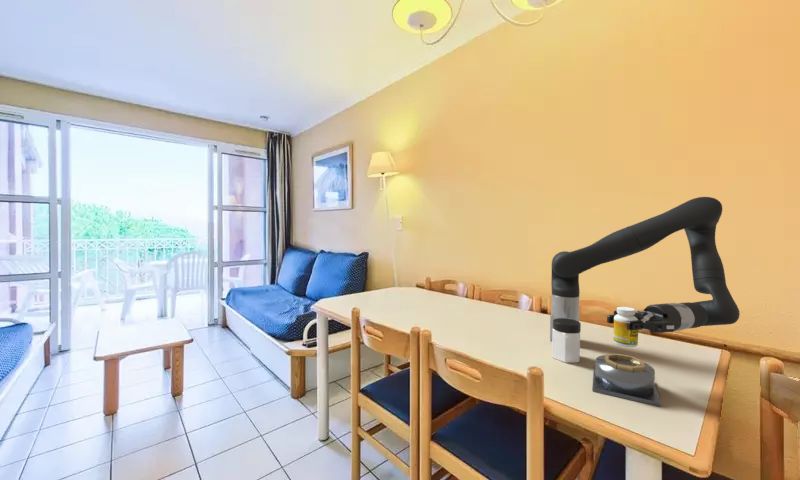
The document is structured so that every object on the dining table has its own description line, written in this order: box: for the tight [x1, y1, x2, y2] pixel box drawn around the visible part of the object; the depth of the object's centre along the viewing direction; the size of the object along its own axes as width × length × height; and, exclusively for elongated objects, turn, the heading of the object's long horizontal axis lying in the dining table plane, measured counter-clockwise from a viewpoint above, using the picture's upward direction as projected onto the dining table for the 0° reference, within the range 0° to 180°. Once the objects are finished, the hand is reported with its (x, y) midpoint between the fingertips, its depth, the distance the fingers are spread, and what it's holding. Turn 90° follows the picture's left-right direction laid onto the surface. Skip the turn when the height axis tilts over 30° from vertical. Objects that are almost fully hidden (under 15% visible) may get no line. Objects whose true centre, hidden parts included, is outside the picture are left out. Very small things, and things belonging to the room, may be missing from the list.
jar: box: [551, 318, 582, 364], centre depth 106 cm, size 9×8×12 cm
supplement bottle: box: [613, 306, 639, 348], centre depth 87 cm, size 5×5×10 cm
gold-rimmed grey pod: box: [591, 353, 661, 407], centre depth 87 cm, size 14×14×7 cm
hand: (618, 322), depth 86 cm, fingers closed on supplement bottle, 5 cm apart
